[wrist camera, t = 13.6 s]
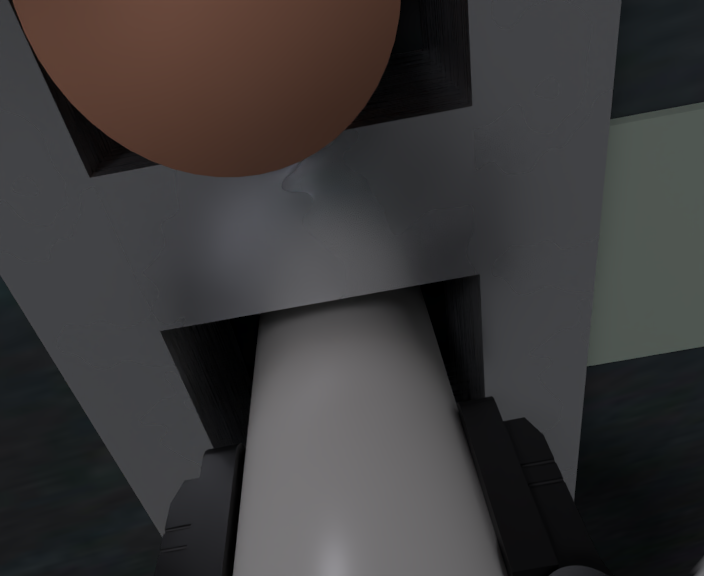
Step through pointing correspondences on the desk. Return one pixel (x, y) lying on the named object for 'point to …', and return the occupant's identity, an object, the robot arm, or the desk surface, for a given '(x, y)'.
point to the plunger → (215, 74)
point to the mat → (651, 238)
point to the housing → (323, 233)
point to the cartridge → (358, 449)
